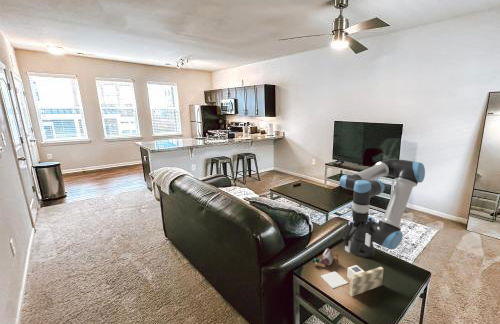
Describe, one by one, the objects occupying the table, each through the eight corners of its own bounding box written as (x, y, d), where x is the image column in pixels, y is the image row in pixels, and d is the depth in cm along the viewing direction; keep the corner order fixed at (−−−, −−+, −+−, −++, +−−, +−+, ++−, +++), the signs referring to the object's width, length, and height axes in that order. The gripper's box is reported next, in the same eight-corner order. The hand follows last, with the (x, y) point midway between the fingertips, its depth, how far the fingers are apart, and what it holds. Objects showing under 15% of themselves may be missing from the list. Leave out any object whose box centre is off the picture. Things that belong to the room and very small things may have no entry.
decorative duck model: (312, 259, 134) (309, 244, 149) (313, 270, 136) (309, 254, 150) (339, 258, 132) (333, 243, 147) (340, 269, 134) (333, 253, 148)
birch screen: (379, 283, 123) (380, 266, 121) (381, 285, 122) (383, 268, 120) (349, 294, 116) (350, 276, 114) (351, 296, 115) (353, 278, 113)
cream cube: (355, 274, 131) (356, 264, 129) (364, 281, 125) (364, 271, 124) (346, 277, 129) (347, 267, 127) (355, 284, 123) (356, 274, 122)
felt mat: (335, 271, 133) (335, 271, 133) (348, 283, 124) (348, 282, 124) (320, 276, 129) (320, 275, 129) (332, 288, 120) (332, 288, 120)
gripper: (372, 204, 126) (369, 239, 131) (335, 211, 118) (333, 249, 122) (385, 209, 119) (381, 246, 124) (346, 217, 111) (343, 257, 115)
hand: (357, 248), depth 123 cm, fingers open, 13 cm apart
